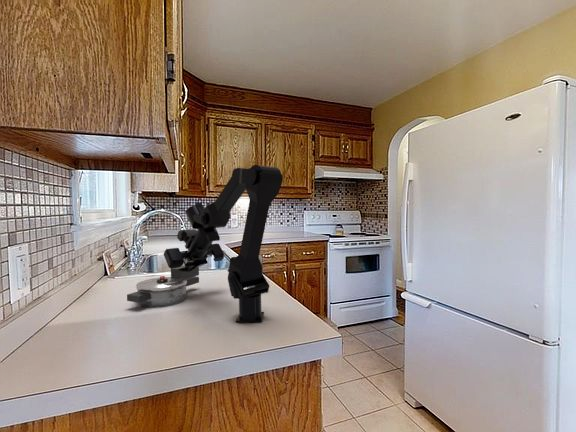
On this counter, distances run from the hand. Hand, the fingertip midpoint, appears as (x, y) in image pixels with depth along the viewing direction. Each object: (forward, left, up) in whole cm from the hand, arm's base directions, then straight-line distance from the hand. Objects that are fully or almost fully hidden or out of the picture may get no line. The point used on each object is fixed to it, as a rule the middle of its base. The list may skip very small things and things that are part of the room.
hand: (187, 270), depth 102 cm
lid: (-4, +4, -3) cm, 6 cm away
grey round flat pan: (-5, +4, -8) cm, 11 cm away
